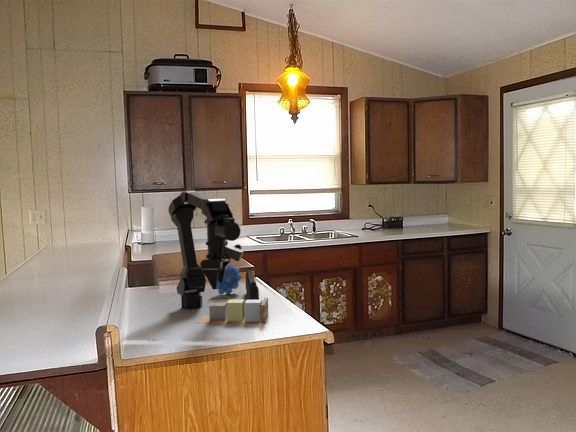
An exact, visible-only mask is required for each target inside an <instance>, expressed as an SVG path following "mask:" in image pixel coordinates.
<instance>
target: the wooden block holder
mask: <svg viewBox="0 0 576 432" xmlns="http://www.w3.org/2000/svg"><path fill="white" fill-rule="evenodd" d="M268 318H269V297H263V300H262V303H261V321H245V318H244V320H243V321H227V319H226V320H225V321H210V316H209V314H203V315H202V316H201V317H200V318H199V319H198V320H197V322H196V323H195V324H200V325H201V324H204V325H205V324H207V325H209V324H211V325H212V324H214V325H215V324H216V325H217V324H218V325H222V324H223V325H226V324H227V325H231V324H232V325H243V324H244V325H266V323H267V320H268Z"/></svg>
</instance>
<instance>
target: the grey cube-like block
mask: <svg viewBox="0 0 576 432" xmlns="http://www.w3.org/2000/svg"><path fill="white" fill-rule="evenodd" d="M208 310H209V311H208V312H209V313H208V315H209V316H210V321H225V320H226V319H227V302H211V303H210V304H209V306H208Z"/></svg>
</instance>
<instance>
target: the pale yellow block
mask: <svg viewBox="0 0 576 432" xmlns="http://www.w3.org/2000/svg"><path fill="white" fill-rule="evenodd" d="M226 303H227V321H243V320H244V318H245V299H228V300H227V302H226Z"/></svg>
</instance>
